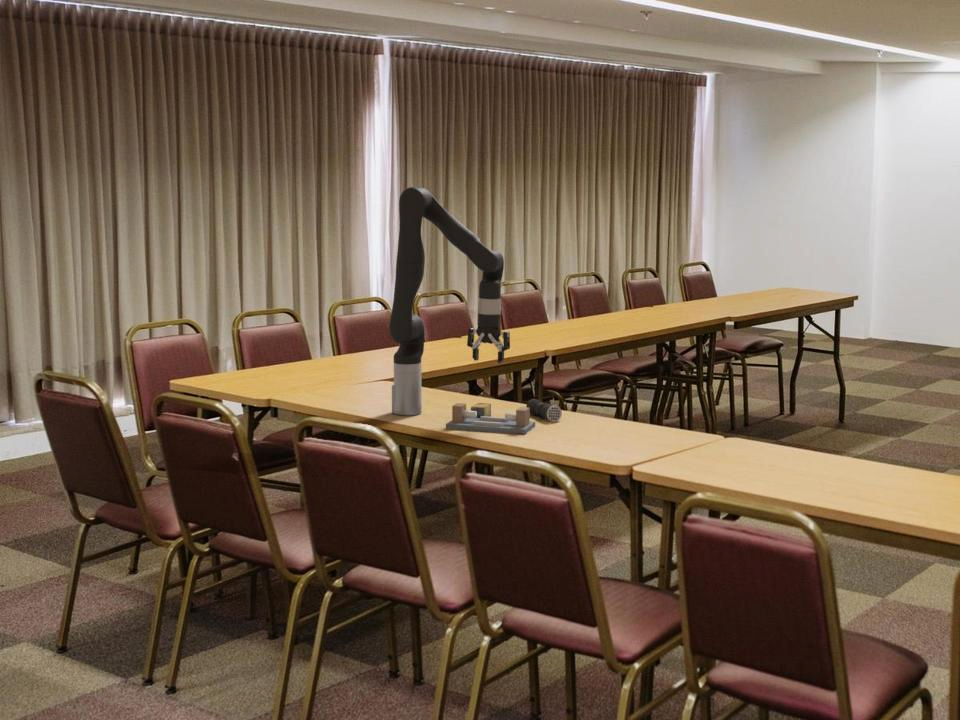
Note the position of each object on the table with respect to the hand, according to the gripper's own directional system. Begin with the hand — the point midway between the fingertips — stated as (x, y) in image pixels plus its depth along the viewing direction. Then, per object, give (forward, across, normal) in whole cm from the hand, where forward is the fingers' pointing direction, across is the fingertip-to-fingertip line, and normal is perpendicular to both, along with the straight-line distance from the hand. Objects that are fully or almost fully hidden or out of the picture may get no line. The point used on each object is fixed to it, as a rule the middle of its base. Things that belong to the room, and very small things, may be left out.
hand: (488, 361), depth 376 cm
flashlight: (+19, +16, +10) cm, 27 cm away
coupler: (+19, -2, -1) cm, 19 cm away
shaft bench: (+19, +7, -12) cm, 23 cm away
